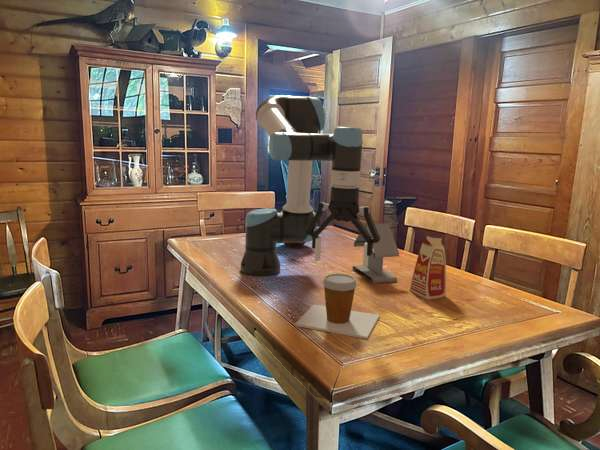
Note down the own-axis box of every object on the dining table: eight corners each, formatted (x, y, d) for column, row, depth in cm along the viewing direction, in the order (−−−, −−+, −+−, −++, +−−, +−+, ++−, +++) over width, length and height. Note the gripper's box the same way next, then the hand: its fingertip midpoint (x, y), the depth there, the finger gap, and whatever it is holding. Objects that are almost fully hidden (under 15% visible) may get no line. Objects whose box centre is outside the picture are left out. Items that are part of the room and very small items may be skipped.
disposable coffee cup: (354, 327, 124) (356, 285, 122) (319, 324, 125) (320, 282, 123) (356, 314, 133) (358, 274, 131) (323, 311, 135) (324, 272, 132)
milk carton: (427, 299, 149) (432, 239, 145) (408, 290, 157) (412, 233, 153) (448, 296, 153) (453, 237, 150) (428, 287, 161) (433, 231, 158)
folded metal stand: (397, 282, 166) (401, 228, 163) (373, 284, 164) (376, 229, 160) (374, 268, 184) (377, 218, 180) (352, 269, 181) (355, 219, 177)
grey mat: (294, 325, 125) (295, 323, 125) (314, 306, 140) (314, 304, 140) (367, 339, 119) (367, 336, 118) (379, 317, 133) (379, 315, 133)
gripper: (296, 184, 123) (293, 260, 127) (389, 191, 114) (383, 273, 119) (305, 181, 130) (303, 254, 134) (394, 188, 121) (388, 265, 126)
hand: (340, 263), depth 126 cm, fingers open, 13 cm apart
